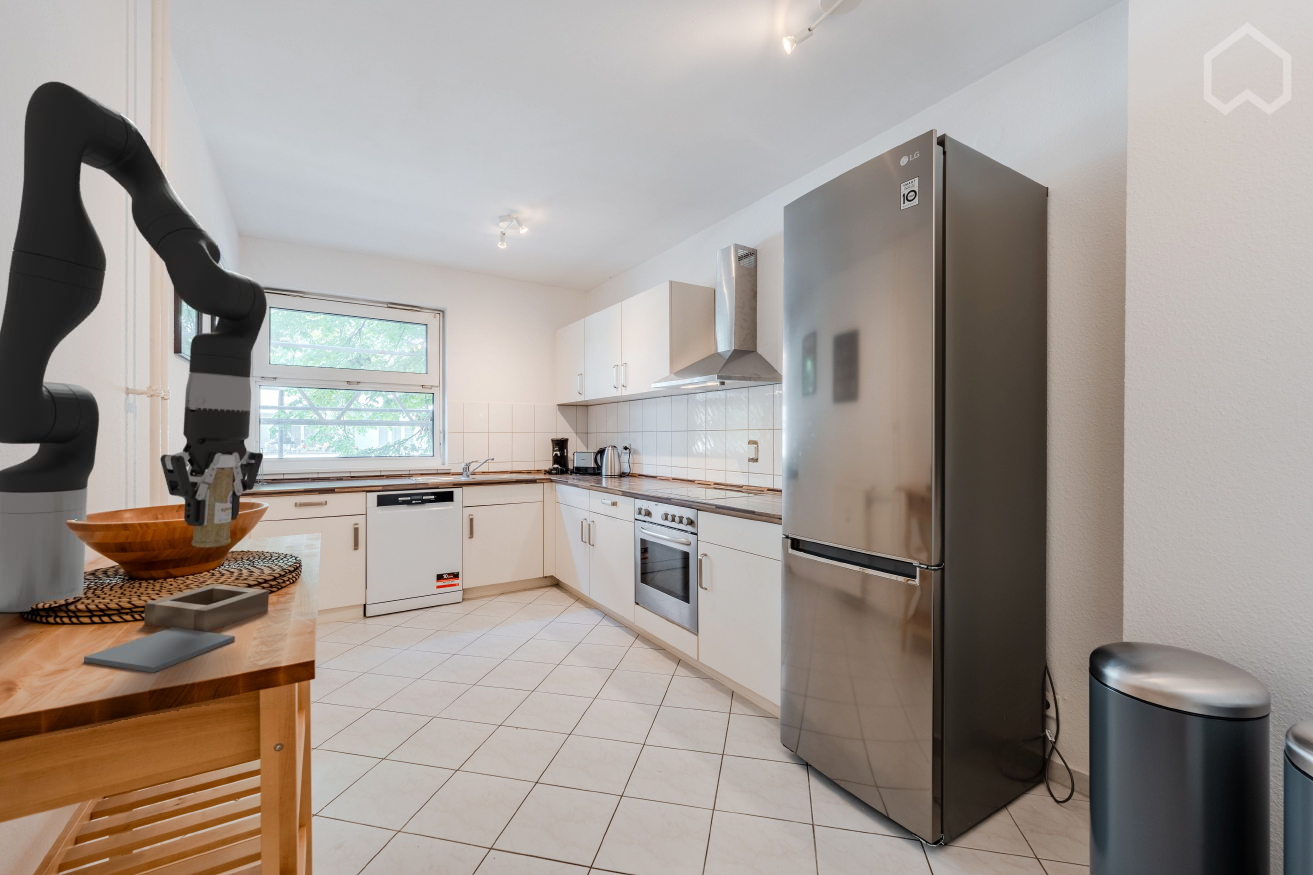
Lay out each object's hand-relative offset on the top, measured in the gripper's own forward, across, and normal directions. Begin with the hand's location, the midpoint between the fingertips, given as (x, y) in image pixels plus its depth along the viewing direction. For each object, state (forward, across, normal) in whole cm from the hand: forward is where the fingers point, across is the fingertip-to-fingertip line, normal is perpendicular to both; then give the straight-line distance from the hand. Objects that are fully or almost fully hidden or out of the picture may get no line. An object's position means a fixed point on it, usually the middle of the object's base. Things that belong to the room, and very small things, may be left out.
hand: (212, 521), depth 80 cm
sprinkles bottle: (+4, 0, 0) cm, 4 cm away
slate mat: (+14, +11, +6) cm, 19 cm away
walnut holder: (+14, 0, 0) cm, 14 cm away
